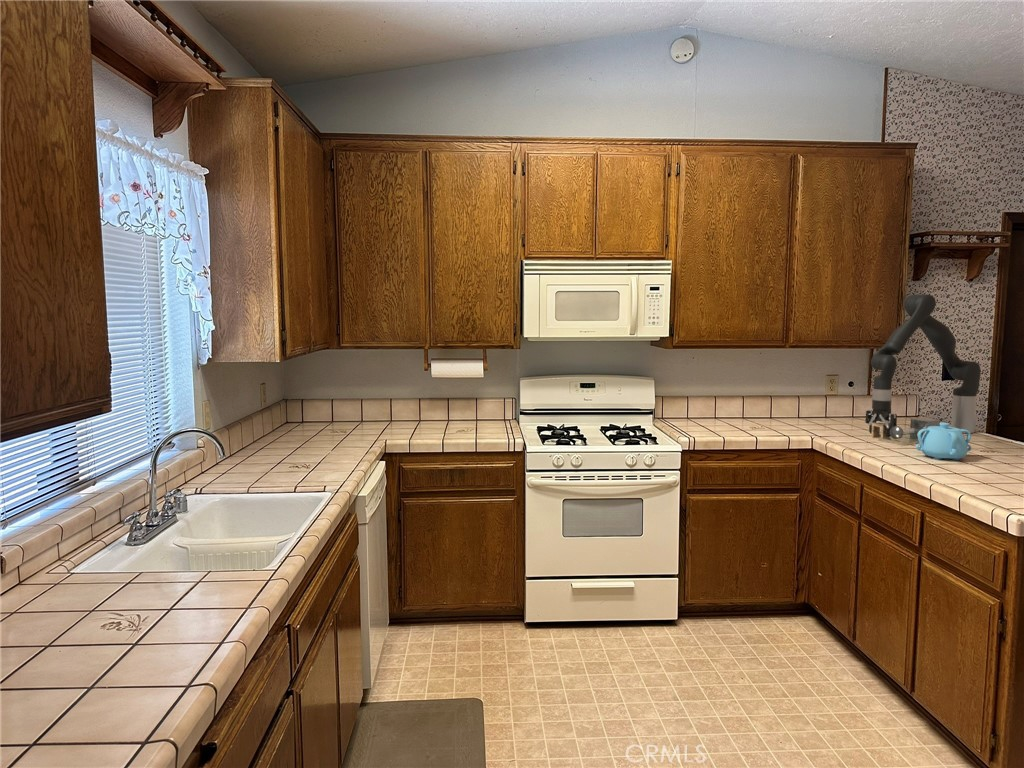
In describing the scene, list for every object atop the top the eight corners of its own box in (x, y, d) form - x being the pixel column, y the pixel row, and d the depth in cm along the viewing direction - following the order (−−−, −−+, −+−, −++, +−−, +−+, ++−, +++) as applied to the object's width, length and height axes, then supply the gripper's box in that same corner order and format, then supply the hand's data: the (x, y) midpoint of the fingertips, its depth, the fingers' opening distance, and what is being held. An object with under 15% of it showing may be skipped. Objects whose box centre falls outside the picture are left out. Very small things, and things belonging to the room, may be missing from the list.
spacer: (877, 436, 304) (878, 422, 303) (889, 438, 298) (889, 424, 298) (871, 437, 302) (871, 423, 302) (882, 439, 297) (883, 424, 296)
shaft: (918, 434, 299) (919, 422, 298) (930, 436, 294) (931, 424, 293) (889, 437, 292) (889, 425, 292) (900, 440, 287) (901, 427, 287)
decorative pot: (977, 459, 256) (979, 424, 255) (953, 463, 249) (955, 427, 247) (933, 451, 270) (935, 418, 269) (909, 456, 263) (911, 421, 262)
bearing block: (919, 436, 304) (920, 416, 303) (945, 440, 293) (946, 420, 292) (878, 440, 294) (879, 420, 294) (902, 445, 283) (903, 425, 282)
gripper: (902, 400, 293) (900, 437, 295) (874, 396, 306) (872, 431, 308) (889, 401, 291) (888, 438, 292) (862, 397, 304) (860, 433, 305)
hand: (880, 434), depth 300 cm, fingers open, 8 cm apart
